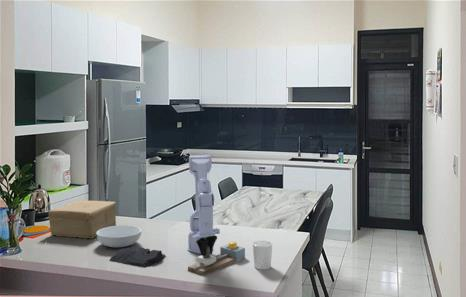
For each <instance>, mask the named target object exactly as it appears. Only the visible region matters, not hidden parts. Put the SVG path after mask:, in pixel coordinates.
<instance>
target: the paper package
mask: <svg viewBox="0 0 466 297" xmlns="http://www.w3.org/2000/svg"><path fill="white" fill-rule="evenodd" d="M116 212H117V210H116V201H109V200H81V199H79V200H76V201H73V202H70V203H67V204H65V205H62V206H59V207H56V208H53V209H51V210H49V211H48V212H47V215H48V222H49V230H50V234H51V236H53V235H56V236H55V237H63V236H67V238H76V237H78V238H79V239H87V238H89V240H90V239H93V238H95V237H97V234H96V232H97V231H98V230H100V229H102V228H106V227H110V226H117V221H116V219H117V218H116V216H117V215H116Z"/></svg>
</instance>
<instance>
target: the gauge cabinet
mask: <svg viewBox="0 0 466 297" xmlns="http://www.w3.org/2000/svg"><path fill="white" fill-rule="evenodd" d="M219 250H220V253H219V254H223V255H225V254H228V256H230V257H234V258H236V261H237V262H239V261H241V260H244V259H245V258H246V248H245V247H244V246H239V245H237V249H234V250H232V249H229V248H228V244H225V245H223V246H220V248H219ZM243 258H244V259H243ZM238 260H239V261H238Z"/></svg>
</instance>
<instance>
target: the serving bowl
mask: <svg viewBox="0 0 466 297" xmlns="http://www.w3.org/2000/svg"><path fill="white" fill-rule="evenodd" d="M96 234H97V236H96V238H97V240H98V241H99V243H100V244H101V245H103V246H106V247H110V248H117V249H119V248H126V247H129V246H131V245H133V244H135V243H137V242H138V241H139V239H140V238H141V236H142V229H141V227H138V226H135V225H129V224H128V225H123V224H122V225H121V224H119V225H116V226H110V227H106V228H102V229H100V230H98V231H97V232H96Z"/></svg>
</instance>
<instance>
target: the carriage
mask: <svg viewBox="0 0 466 297" xmlns="http://www.w3.org/2000/svg"><path fill="white" fill-rule="evenodd" d="M215 256H216V255H212V254H210V246H209V245H207V248H206V256H202V255H201V254H200V255H198V256H197V257H196V263H198V262H200V264H202V263H203V264H204V266H205V267H206V266H208V265H210V264H213V263H214V262H216V257H215Z"/></svg>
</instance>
